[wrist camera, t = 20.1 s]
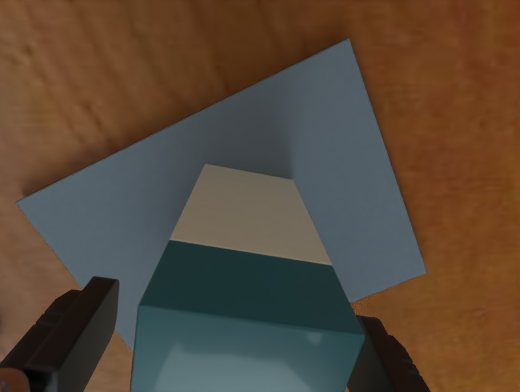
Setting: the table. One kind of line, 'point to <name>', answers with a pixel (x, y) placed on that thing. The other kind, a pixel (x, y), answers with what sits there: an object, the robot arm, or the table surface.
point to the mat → (246, 159)
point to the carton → (244, 297)
